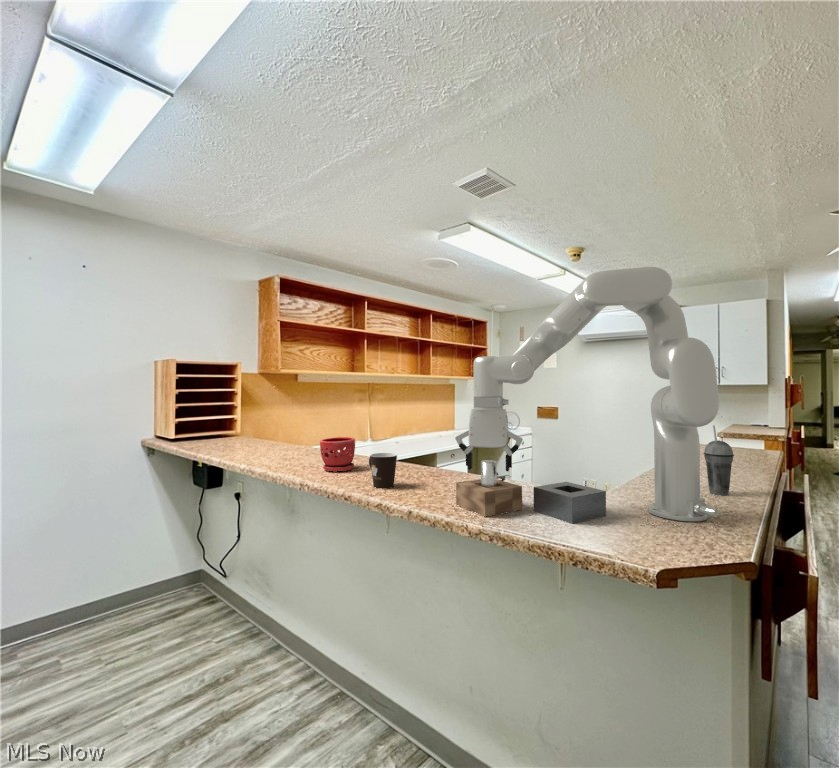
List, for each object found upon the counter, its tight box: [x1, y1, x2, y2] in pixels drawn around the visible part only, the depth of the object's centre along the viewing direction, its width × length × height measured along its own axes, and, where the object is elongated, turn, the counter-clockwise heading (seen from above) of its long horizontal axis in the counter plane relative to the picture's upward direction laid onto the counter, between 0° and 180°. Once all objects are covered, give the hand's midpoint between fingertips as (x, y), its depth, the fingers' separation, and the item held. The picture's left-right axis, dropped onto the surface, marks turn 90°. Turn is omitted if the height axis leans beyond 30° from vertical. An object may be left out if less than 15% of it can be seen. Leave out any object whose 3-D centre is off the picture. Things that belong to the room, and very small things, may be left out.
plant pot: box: [319, 436, 356, 473], centre depth 161 cm, size 13×13×12 cm
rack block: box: [455, 478, 523, 518], centre depth 110 cm, size 12×12×6 cm
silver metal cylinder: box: [480, 459, 498, 488], centre depth 110 cm, size 4×4×12 cm
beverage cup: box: [703, 424, 735, 497], centre depth 123 cm, size 7×7×20 cm
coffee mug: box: [368, 452, 398, 489], centre depth 135 cm, size 12×9×10 cm
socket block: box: [533, 481, 607, 525], centre depth 105 cm, size 12×12×6 cm
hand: (488, 469), depth 110 cm, fingers open, 9 cm apart
